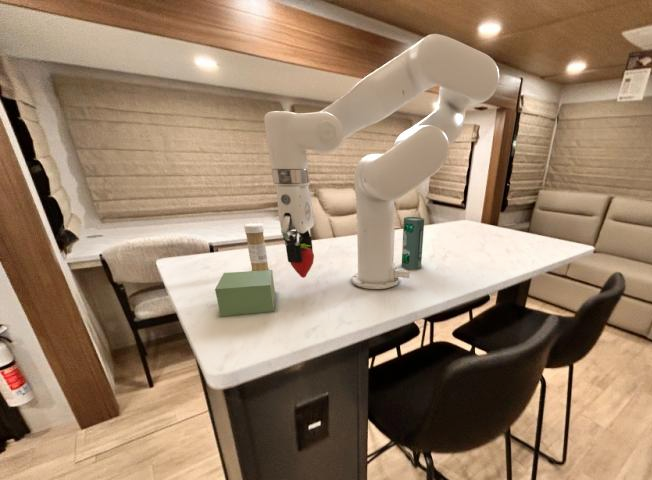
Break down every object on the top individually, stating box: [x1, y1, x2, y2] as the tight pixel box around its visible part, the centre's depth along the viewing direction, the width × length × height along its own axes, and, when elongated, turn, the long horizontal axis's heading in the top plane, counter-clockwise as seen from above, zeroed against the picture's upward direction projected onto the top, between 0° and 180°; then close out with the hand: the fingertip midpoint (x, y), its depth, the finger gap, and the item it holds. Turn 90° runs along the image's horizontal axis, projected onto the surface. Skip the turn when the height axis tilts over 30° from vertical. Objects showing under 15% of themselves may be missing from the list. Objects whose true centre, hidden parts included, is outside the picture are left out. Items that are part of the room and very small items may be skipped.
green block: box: [214, 269, 276, 317], centre depth 67 cm, size 10×10×6 cm
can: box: [401, 216, 425, 271], centre depth 95 cm, size 6×6×15 cm
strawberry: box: [289, 237, 315, 279], centre depth 74 cm, size 6×8×10 cm
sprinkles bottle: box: [243, 222, 270, 271], centre depth 85 cm, size 5×5×14 cm
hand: (301, 256), depth 74 cm, fingers closed on strawberry, 7 cm apart
